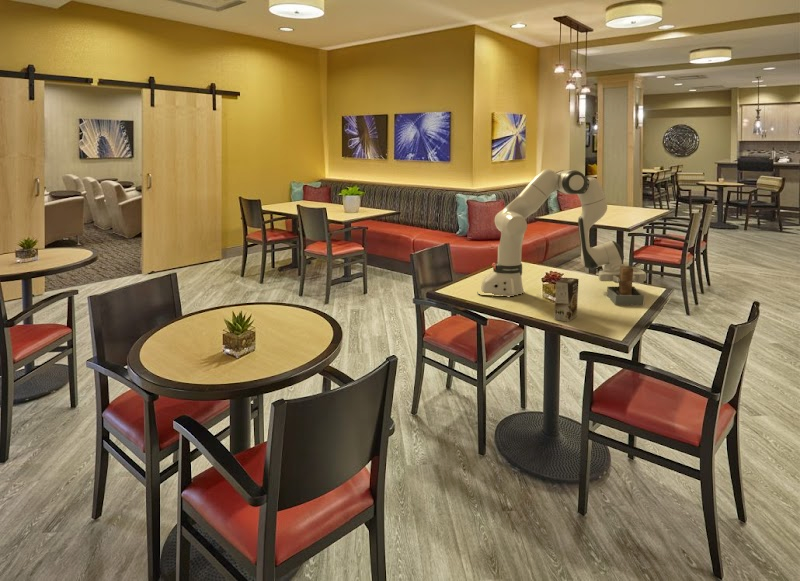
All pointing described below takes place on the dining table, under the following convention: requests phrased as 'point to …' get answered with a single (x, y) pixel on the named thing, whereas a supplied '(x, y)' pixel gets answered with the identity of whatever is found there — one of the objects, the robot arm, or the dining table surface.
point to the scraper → (625, 280)
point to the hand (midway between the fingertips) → (626, 280)
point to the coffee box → (566, 299)
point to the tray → (625, 297)
